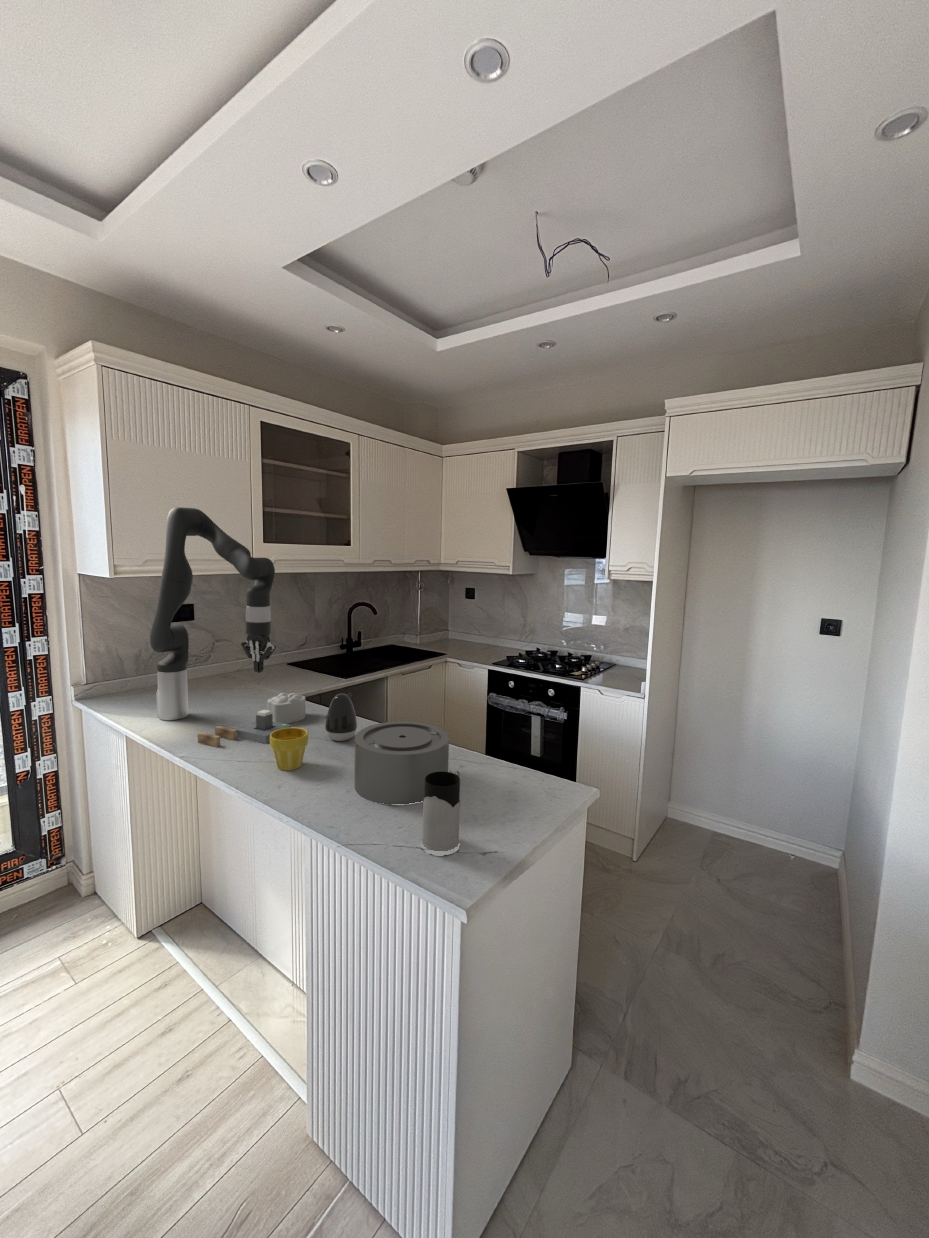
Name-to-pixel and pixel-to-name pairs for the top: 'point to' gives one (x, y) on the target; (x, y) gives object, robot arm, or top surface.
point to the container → (398, 760)
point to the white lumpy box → (287, 707)
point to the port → (259, 732)
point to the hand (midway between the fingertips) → (258, 671)
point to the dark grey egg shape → (341, 718)
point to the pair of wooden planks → (217, 736)
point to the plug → (264, 720)
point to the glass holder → (441, 811)
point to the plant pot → (289, 747)
